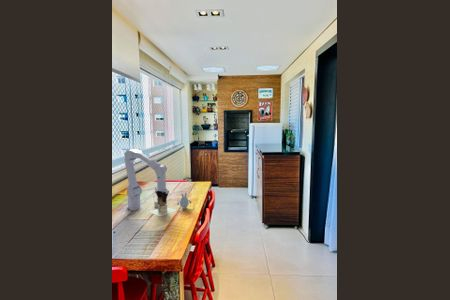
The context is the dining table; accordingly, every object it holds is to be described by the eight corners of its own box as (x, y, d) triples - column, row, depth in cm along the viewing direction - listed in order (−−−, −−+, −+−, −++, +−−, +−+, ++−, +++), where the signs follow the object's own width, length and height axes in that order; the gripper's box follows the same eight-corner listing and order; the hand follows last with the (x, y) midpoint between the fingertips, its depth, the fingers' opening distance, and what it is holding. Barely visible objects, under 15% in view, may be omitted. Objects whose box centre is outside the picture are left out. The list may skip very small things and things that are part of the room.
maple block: (158, 211, 167) (158, 205, 167) (163, 209, 171) (163, 203, 170) (161, 212, 164) (161, 206, 164) (167, 210, 168) (167, 204, 167)
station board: (148, 212, 167) (148, 211, 167) (165, 206, 178) (165, 206, 177) (159, 217, 158) (159, 216, 158) (177, 211, 168) (176, 210, 168)
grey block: (154, 207, 177) (154, 201, 176) (158, 205, 181) (158, 199, 180) (159, 208, 175) (159, 202, 174) (163, 206, 179) (163, 200, 178)
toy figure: (190, 206, 177) (190, 191, 175) (192, 209, 171) (192, 193, 170) (176, 209, 173) (175, 193, 171) (178, 212, 167) (177, 195, 166)
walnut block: (157, 204, 167) (157, 198, 166) (163, 202, 170) (162, 196, 169) (161, 205, 164) (160, 199, 163) (166, 203, 167) (166, 197, 166)
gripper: (150, 182, 167) (151, 200, 169) (162, 185, 157) (163, 205, 159) (159, 180, 172) (160, 198, 174) (171, 183, 163) (172, 202, 164)
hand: (162, 201), depth 167 cm, fingers closed on walnut block, 4 cm apart
